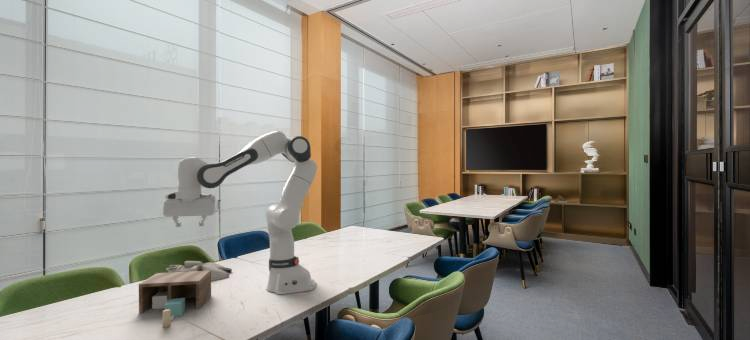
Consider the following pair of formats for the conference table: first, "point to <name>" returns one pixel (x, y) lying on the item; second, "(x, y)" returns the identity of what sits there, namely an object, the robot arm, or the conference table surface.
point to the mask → (202, 269)
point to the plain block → (159, 300)
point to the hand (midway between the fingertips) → (190, 226)
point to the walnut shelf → (176, 287)
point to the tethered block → (173, 310)
